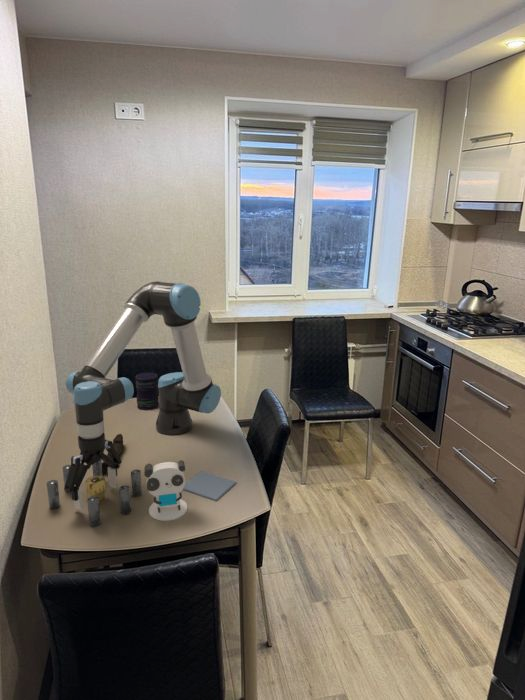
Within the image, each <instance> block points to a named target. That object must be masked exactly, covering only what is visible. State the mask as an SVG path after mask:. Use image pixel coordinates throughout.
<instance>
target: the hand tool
mask: <svg viewBox="0 0 525 700" xmlns="http://www.w3.org/2000/svg"><path fill="white" fill-rule="evenodd" d="M112 443H113V447H114V449H115V451H116V452H117V454H118V455H119V456H120V454H121V453H122V452H123V450H124V436H123V434H122V433H118V434H116V436H115V437H114V438H113V439H112ZM106 455H107V457H108V458H110V459H111V460H112V458H111V457H110V455H109V453H108V452H107V454H106ZM112 461H113V460H112ZM108 467H111V466H109V465H108V464H107V463H105V462H104V461H103V462H102V473H103V475H108Z"/></svg>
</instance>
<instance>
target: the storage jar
mask: <svg viewBox="0 0 525 700" xmlns="http://www.w3.org/2000/svg"><path fill="white" fill-rule="evenodd" d="M158 383H159V378H158V374H157V373H155V372H141V373H137V374H136V375H135V389H136V404H137V406H136V407H137V409H138V410H140V411H152V410H153V411H154V410H155V409H158V408H159V392H158Z"/></svg>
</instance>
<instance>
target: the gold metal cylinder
mask: <svg viewBox="0 0 525 700" xmlns="http://www.w3.org/2000/svg"><path fill="white" fill-rule="evenodd" d="M105 479H106V478H105V476H104V475H103V476H99V475H97V476H93V475H92V476H89V477H88V478H86V479H85V494H86V503H87V504H88V501H87V499H88V498H89V497H91V496H98V497H99V506H101V505H103V504H104V503H105V502H106V501H107V491H106V490H107V489H106V480H105Z"/></svg>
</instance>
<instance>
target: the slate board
mask: <svg viewBox="0 0 525 700" xmlns="http://www.w3.org/2000/svg"><path fill="white" fill-rule="evenodd" d="M236 484H237V481H235V480H233V479H230V478H226V477H223V476H220V475H216V474H213V473H211V472H207V471H204V470H200V471H199V472H198V473H196V474H195V475H194V476H193V477H191V478H190V479H189V480H187V481H185V486H184V488H183V490H182V491H185V492H189V493H191V494H195V495H196V496H197V495H198V496H200V497H203V498H206V499H209V500H212V501H215V502H217V501H218V500H219V499H221V497H223V496H224V495H225V494H226V493H227V492H228V491H229V490H230V489H232V488H233V487H234V486H235V485H236ZM233 485H234V486H233ZM232 486H233V487H232ZM223 494H224V495H223Z"/></svg>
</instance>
